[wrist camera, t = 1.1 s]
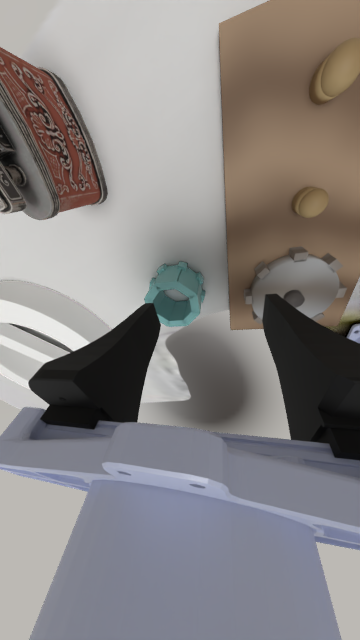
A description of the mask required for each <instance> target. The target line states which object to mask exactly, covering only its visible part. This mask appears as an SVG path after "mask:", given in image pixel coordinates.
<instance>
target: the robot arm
mask: <svg viewBox="0 0 360 640" xmlns="http://www.w3.org/2000/svg"><path fill="white" fill-rule="evenodd" d="M262 323H263V328H264V332H265V336H266V339H267V342H268V345H269V348H270V351H271V353H272V356H273V359H274V362H275V364H276V368H277V371H278V376H279V379H280V384H281V389H282V394H283V398H284V403H285V408H286V413H287V419H288V424H289V430H290V436H291V440H288V439H278V438H268V437H258V436H248V435H238V434H228V433H219V432H218V433H217V432H210V431H206V430H200V429H196V428H187V427H177V426H167V425H157V424H147V423H137V420H138V412H139V407H140V401H141V395H142V390H143V386H144V381H145V377H146V373H147V368H148V365H149V362H150V359H151V357H152V354H153V351H154V348H155V346H156V343H157V340H158V337H159V332H160V327H161V324H160V321H159V318H158V315H157V312H156V309H155V306H154V303H145V304H144V305H142V306H141V307H140V308H138V309H137V310H136V311H135V312H134V313H133V314H131V315H130V316H129V317H128V318H127V319H125V320H124V321H123V322H121V323H120V324H119V325H118V326H116V327H115V328H114V329H112V330H111V331H109V332H108V333H106V334H105V335H103V336H102V337H100V338H98V339H97V340H95V341H93V342H91V343H89V344H88V345H86V346H84V347H82V348H80V349H78V350H76V351H73V352H71V353H69V354H67V355H64V356H62V357H59V358H57V359H54V360H52V361H49V362H46V363H44V364H43V365H42V367H41V368H40V369H39V370H38V371H37V372H36V373H35V374H34V376H33V377H32V378H31V379H30V380H29V382H28V384H29V388H30V389H31V390H32V391H33V392H34V393H35V394H36V395H38V396H39V397H40V398H42V399H43V400H44V401H45V402H47V403H48V404H49V407H48V408H47V410H44V409H41V408H33V407H24V408H23V409H22V410H21V411H20V413H19V414H18V415H17V416H16V418H15V419H14V420H13V421H12V423H11V424H10V425H9V426H8V428H7V429H6V430H5V431H4V432H3V434H2V435H1V436H0V469H2V470H4V471H7V472H11V473H13V474H16V475H19V476H23V477H28V478H32V479H37V480H41V481H45V482H50V483H54V484H58V485H62V486H66V487H71V488H74V489H79V490H82V491H87V492H88V494H87V496H86V499H85V501H84V504H83V506H82V509H81V511H80V514H79V516H78V519H77V521H76V524H75V526H74V529H73V531H72V534H71V536H70V539H69V541H68V544H67V546H66V549H65V551H64V554H63V556H62V559H61V561H60V564H59V566H58V569H57V571H56V574H55V576H54V579H53V582H52V584H51V586H50V589H49V591H48V594H47V596H46V599H45V601H44V604H43V606H42V609H41V611H40V614H39V616H38V619H37V621H36V624H35V626H34V629H33V631H32V634H31V636H30V639H29V640H341V636H340V632H339V628H338V625H337V621H336V617H335V613H334V610H333V606H332V602H331V599H330V594H329V591H328V587H327V583H326V580H325V576H324V572H323V568H322V564H321V561H320V557H319V553H318V549H317V545H316V542H320V543H325V544H330V545H335V546H340V547H346V548H351V549H356V550H360V324H355V325H353V326H352V327H351V329H350V331H349V333H348V335H347V337H344V336H342V335H340V334H337V333H335V332H333V331H332V330H330V329H328V328H326V327H324V326H322V325H320V324H319V323H317V322H315V321H314V320H312V319H311V318H309V317H308V316H306V315H305V314H303V313H302V312H300V311H299V310H297V309H296V308H295V307H293V306H292V305H291V304H289V303H288V302H287V301H285V300H284V299H283V298H282V297H280V296H279V295H278V294H265V301H264V309H263V318H262Z"/></svg>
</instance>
